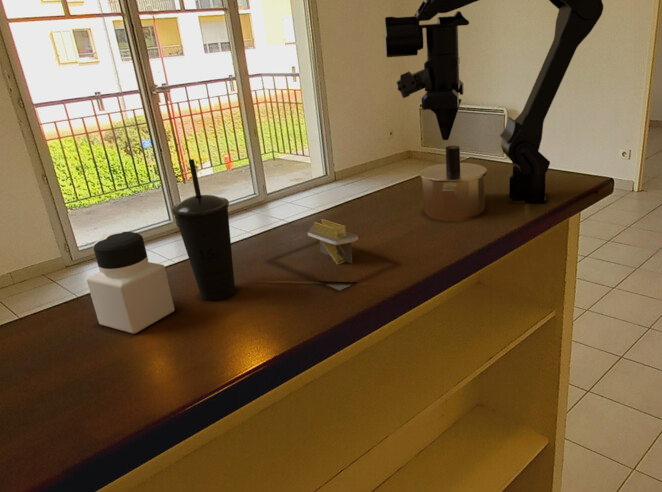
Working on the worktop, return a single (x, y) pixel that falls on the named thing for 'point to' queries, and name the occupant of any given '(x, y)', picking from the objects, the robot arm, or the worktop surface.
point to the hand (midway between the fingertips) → (445, 139)
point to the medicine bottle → (128, 284)
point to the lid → (453, 169)
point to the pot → (453, 199)
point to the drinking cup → (207, 241)
